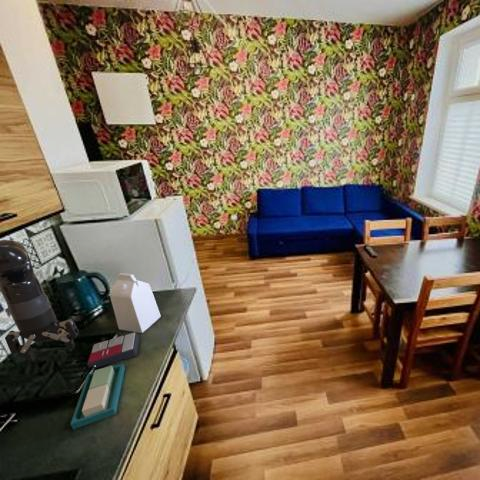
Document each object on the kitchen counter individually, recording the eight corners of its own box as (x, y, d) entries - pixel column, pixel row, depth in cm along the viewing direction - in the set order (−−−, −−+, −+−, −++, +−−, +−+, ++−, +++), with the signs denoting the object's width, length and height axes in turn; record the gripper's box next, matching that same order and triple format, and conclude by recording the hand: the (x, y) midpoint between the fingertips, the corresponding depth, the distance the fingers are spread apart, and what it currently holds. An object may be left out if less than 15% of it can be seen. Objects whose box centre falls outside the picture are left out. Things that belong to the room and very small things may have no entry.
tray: (73, 429, 80) (70, 424, 79) (89, 379, 96) (87, 374, 95) (115, 414, 84) (113, 408, 83) (125, 368, 100) (123, 363, 100)
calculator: (92, 343, 107) (136, 330, 113) (96, 351, 109) (139, 337, 115) (85, 363, 98) (133, 347, 104) (90, 371, 100) (136, 355, 106)
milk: (160, 316, 128) (148, 269, 118) (142, 333, 118) (126, 282, 108) (139, 313, 130) (124, 266, 120) (118, 329, 120) (101, 279, 110)
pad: (85, 419, 82) (81, 411, 81) (92, 398, 89) (88, 389, 87) (105, 412, 84) (101, 404, 83) (110, 392, 91) (107, 383, 89)
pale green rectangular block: (92, 397, 89) (88, 388, 88) (98, 378, 96) (94, 370, 94) (110, 391, 91) (107, 382, 90) (115, 373, 98) (111, 365, 96)
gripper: (-13, 325, 67) (13, 372, 73) (60, 310, 73) (79, 355, 80) (2, 309, 73) (25, 353, 80) (69, 296, 80) (86, 338, 86)
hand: (52, 354), depth 80 cm, fingers open, 8 cm apart
